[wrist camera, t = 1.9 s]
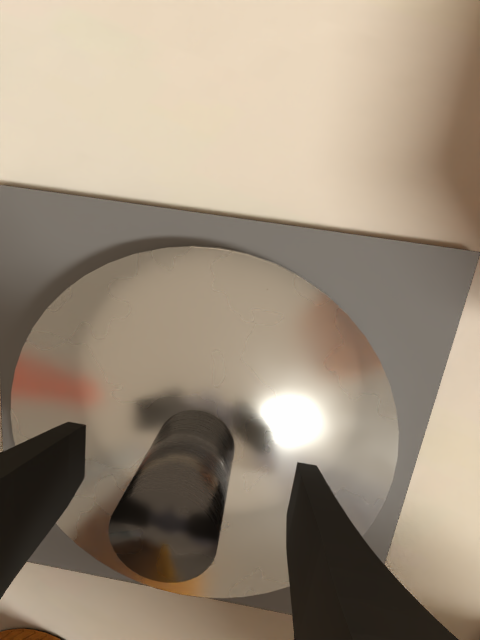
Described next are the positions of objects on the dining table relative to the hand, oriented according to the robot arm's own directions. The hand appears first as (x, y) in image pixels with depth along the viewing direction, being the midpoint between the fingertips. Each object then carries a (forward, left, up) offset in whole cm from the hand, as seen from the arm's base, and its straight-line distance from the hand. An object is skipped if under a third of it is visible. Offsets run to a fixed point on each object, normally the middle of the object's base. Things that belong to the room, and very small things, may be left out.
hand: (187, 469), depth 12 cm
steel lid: (0, 0, -2) cm, 2 cm away
